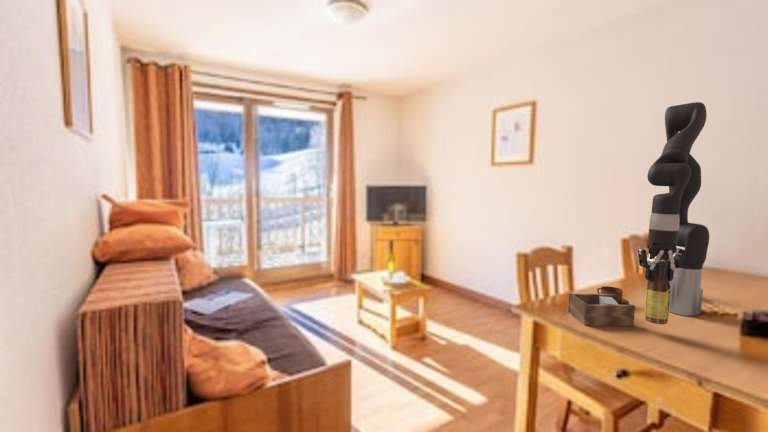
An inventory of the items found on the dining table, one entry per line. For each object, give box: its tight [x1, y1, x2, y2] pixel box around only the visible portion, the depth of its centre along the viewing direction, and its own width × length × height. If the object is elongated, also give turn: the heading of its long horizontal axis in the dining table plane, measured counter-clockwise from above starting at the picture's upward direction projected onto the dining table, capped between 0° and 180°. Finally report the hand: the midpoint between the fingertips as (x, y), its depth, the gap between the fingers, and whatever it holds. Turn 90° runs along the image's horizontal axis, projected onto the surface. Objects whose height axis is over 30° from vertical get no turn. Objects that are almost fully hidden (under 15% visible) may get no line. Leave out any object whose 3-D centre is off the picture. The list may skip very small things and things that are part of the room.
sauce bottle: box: [644, 260, 671, 325], centre depth 122 cm, size 6×6×20 cm
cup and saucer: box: [596, 285, 630, 305], centre depth 150 cm, size 12×12×6 cm
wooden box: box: [567, 293, 636, 327], centre depth 135 cm, size 16×12×7 cm
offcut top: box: [599, 296, 619, 305], centre depth 135 cm, size 4×8×4 cm, turn 165°
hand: (658, 280), depth 122 cm, fingers closed on sauce bottle, 5 cm apart
